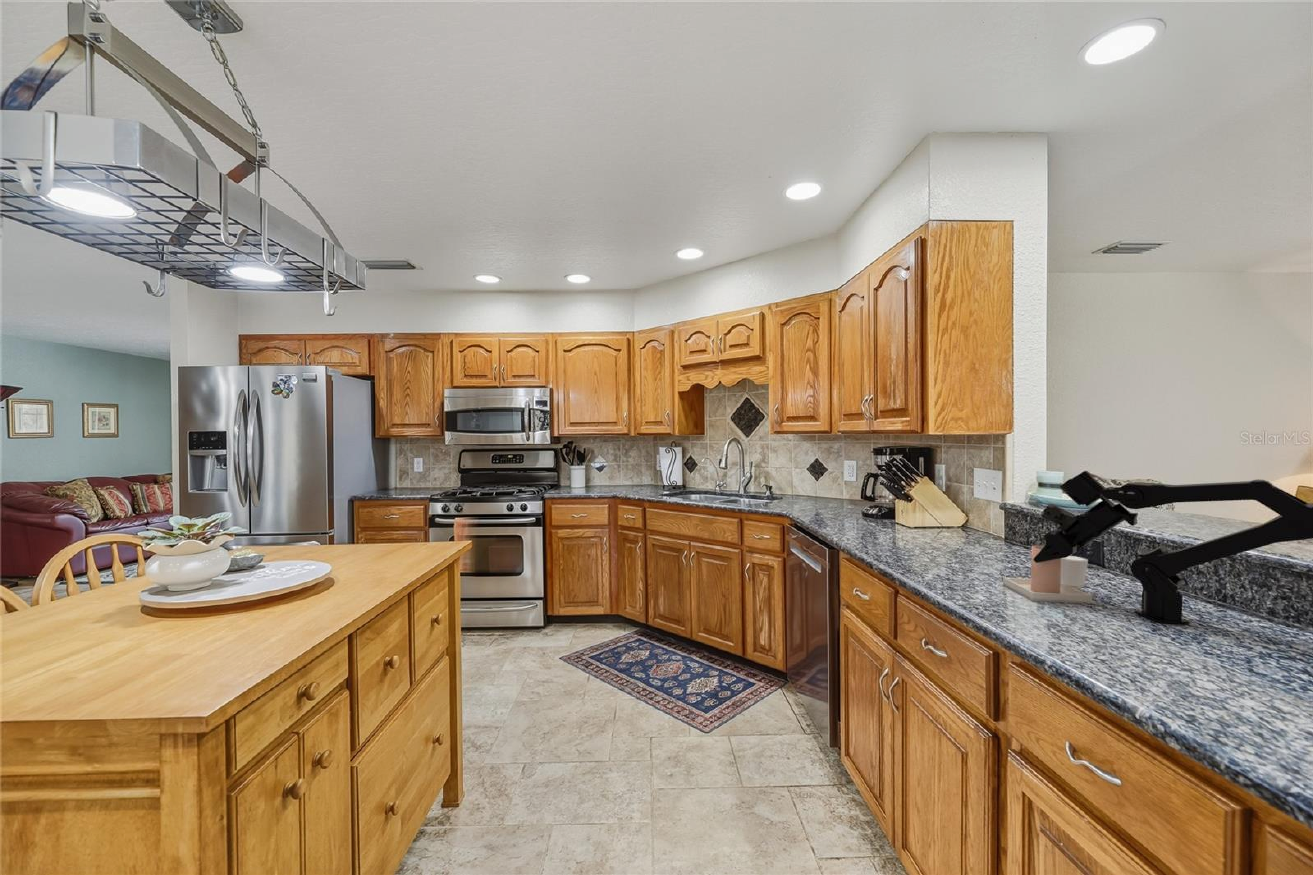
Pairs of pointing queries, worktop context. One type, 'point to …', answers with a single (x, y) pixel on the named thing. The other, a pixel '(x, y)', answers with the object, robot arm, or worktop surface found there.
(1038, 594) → the tray
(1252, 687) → the worktop surface
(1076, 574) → the white short cylinder
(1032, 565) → the deep cup
